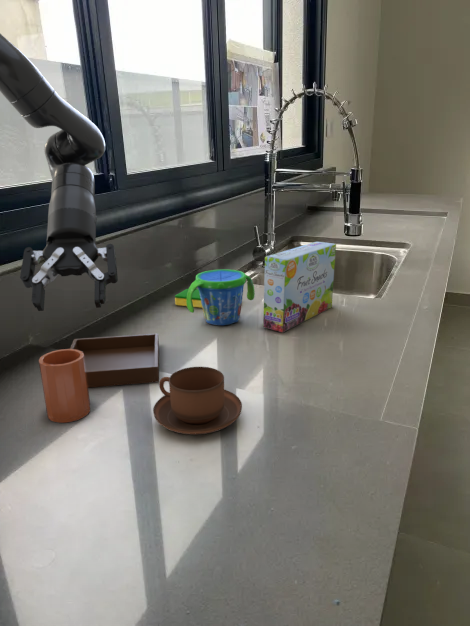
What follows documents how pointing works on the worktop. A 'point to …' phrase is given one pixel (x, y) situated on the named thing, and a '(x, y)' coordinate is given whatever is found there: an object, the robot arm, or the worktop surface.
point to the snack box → (298, 285)
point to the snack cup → (221, 295)
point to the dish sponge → (182, 298)
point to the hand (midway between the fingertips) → (69, 307)
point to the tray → (120, 359)
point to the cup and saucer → (196, 402)
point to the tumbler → (65, 385)
